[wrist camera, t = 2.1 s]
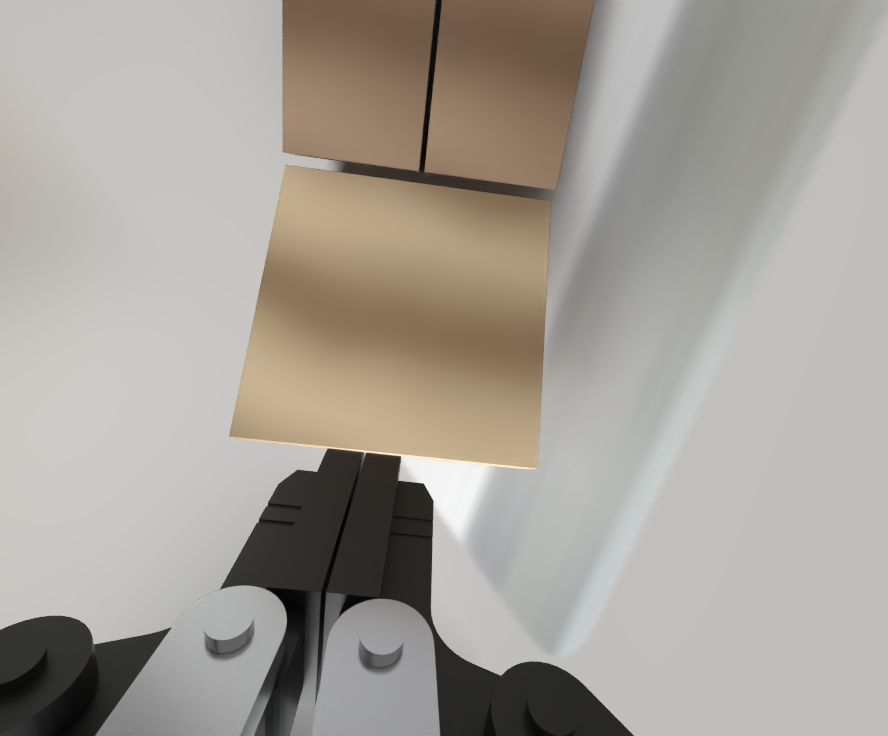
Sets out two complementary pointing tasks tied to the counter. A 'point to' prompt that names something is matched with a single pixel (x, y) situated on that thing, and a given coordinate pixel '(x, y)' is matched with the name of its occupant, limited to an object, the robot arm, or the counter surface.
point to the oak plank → (399, 321)
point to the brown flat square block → (434, 84)
